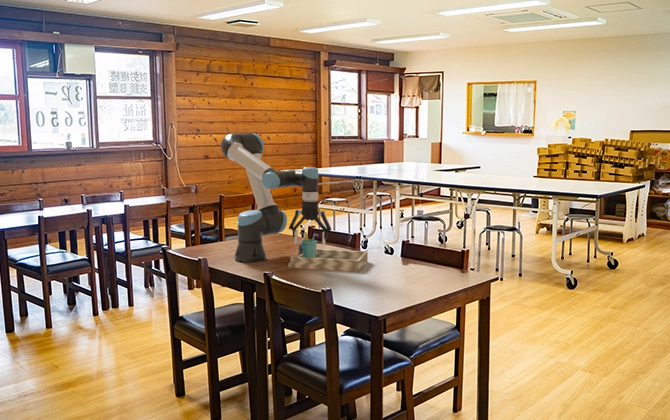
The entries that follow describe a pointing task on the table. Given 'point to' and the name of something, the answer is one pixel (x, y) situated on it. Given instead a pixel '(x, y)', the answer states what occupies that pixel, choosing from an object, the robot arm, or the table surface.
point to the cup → (309, 246)
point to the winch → (300, 249)
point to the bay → (331, 260)
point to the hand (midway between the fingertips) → (309, 244)
